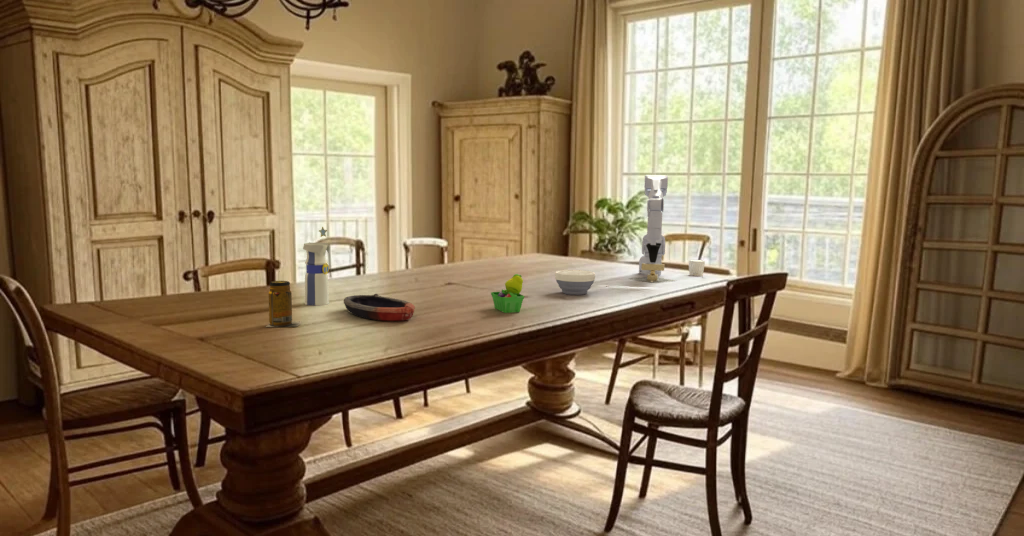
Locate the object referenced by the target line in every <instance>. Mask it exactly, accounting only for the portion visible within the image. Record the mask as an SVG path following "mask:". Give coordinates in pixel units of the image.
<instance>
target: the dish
mask: <svg viewBox="0 0 1024 536" xmlns="http://www.w3.org/2000/svg"><path fill="white" fill-rule="evenodd" d="M343 304H344V306H345V308H346V311H348V312H349V313H350V314H351V315H354V316H356V317H359V318H363V319H368V320H371V321H372V320H374V321H380V322H381V321H382V322H401V321H408V320H411V319H412V317H413V315H414V313H415V309H416V307H415V305H414V304H413V303H412V302H410V301H406V300H402V299H400V298H399V299H398V298H396V297H395V298H393V297H388V296H384V295H383V296H381V295H379V294H378V293H374V294H371V295H369V294H368V295H367V294H359V295H358V294H357V295H349V296H346V297H344V298H343Z"/></svg>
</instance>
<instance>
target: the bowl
mask: <svg viewBox="0 0 1024 536" xmlns="http://www.w3.org/2000/svg"><path fill="white" fill-rule="evenodd" d="M554 279H555V281H556V283H557V285H558V287H559V289H560V290H561V292H562V293H563V294H564V295H569V296H570V295H571V296H583V295H586V294H587V293H588V291H589V290H590V289H591V288H592V285H593V284H594V282H595V280H596V273H595V272H594V271H591V270H590V271H589V270H578V269H563V270H556V271H555V273H554Z"/></svg>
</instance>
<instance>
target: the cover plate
mask: <svg viewBox="0 0 1024 536" xmlns="http://www.w3.org/2000/svg"><path fill="white" fill-rule="evenodd" d="M628 280H633V281H638V282H644V283H649V284H657V283H670V282H677V280H676V279H675V280H674V279H669V278H665V277H659V276H658V280H657V281H656V280H647V276H643V277H632V278H628Z"/></svg>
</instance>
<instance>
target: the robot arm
mask: <svg viewBox="0 0 1024 536" xmlns="http://www.w3.org/2000/svg"><path fill="white" fill-rule="evenodd" d="M668 180H669V177H668V175H667V174H665V175H664V174H662V175H661V174H645V175H644V184H643V185H644V193H645V194H644V195H645V196H646V197H648V199H647V202H646V210H647V211H646V212H647V224H646V225H647V226H646V227H647V228H646V229H647V230H646V234H645V235H644V236H643V237H642V240H641V241H642V243H641V254H642V255H641V257H640V258H639V261H638V274H642V275H646V276H647V275H648V274H650V273H651V270H641V269H642V263H647V264H662V262H663V261H662V258H663V256H665V254H666V238H665V236H664V235H662V232H663V231H662V228H663V213H664V210H665V209H664V207H665V206H664V205H665V201H664V197H666V196H667V193H668V184H669V183H668ZM655 274H658V276H662V271H658V270H655Z"/></svg>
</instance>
